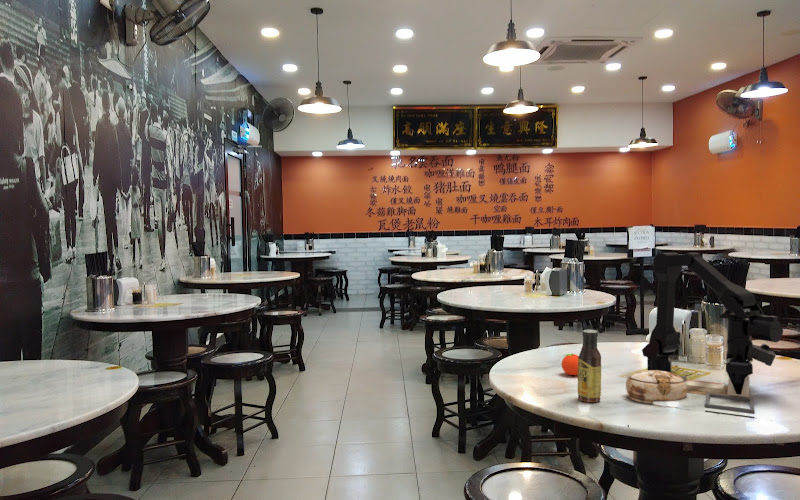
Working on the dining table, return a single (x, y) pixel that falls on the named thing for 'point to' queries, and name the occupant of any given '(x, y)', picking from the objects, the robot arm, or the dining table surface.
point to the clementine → (570, 364)
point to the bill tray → (729, 406)
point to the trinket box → (655, 386)
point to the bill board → (706, 387)
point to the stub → (744, 391)
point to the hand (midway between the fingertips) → (738, 390)
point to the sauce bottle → (589, 368)
